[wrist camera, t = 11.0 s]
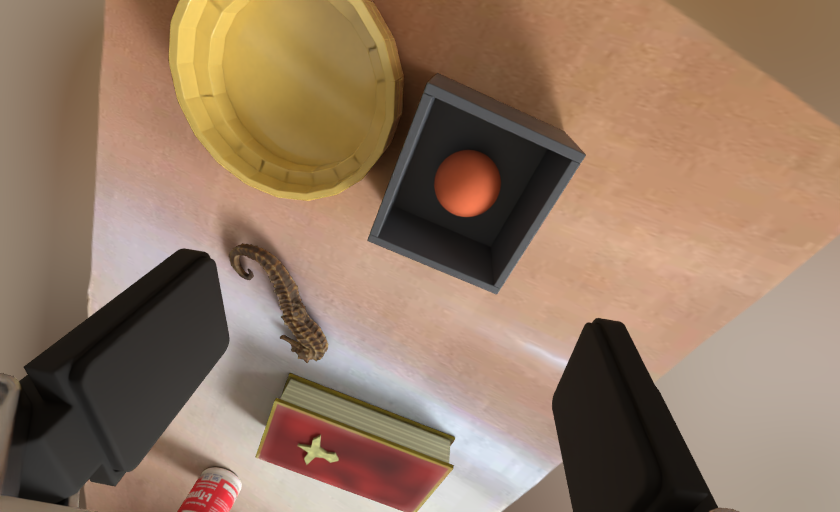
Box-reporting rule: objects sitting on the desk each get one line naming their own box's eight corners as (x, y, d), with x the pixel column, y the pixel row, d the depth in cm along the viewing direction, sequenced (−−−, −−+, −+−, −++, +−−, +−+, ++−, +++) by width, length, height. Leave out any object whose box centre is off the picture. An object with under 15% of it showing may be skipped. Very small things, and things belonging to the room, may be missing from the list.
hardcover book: (416, 485, 53) (412, 519, 49) (269, 430, 51) (253, 461, 47) (455, 437, 47) (453, 471, 43) (289, 372, 45) (273, 402, 41)
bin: (437, 72, 28) (427, 81, 22) (564, 131, 28) (586, 154, 23) (385, 206, 33) (366, 241, 28) (493, 252, 34) (497, 295, 28)
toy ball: (452, 132, 29) (448, 149, 25) (510, 158, 29) (515, 179, 25) (428, 187, 31) (420, 211, 27) (481, 211, 32) (482, 238, 28)
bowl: (218, -85, 25) (176, -105, 21) (437, 18, 26) (431, 15, 23) (197, 138, 32) (163, 150, 29) (367, 210, 34) (355, 230, 30)
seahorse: (270, 234, 36) (258, 244, 34) (343, 350, 42) (336, 364, 40) (226, 247, 38) (213, 258, 36) (302, 357, 44) (294, 370, 42)
